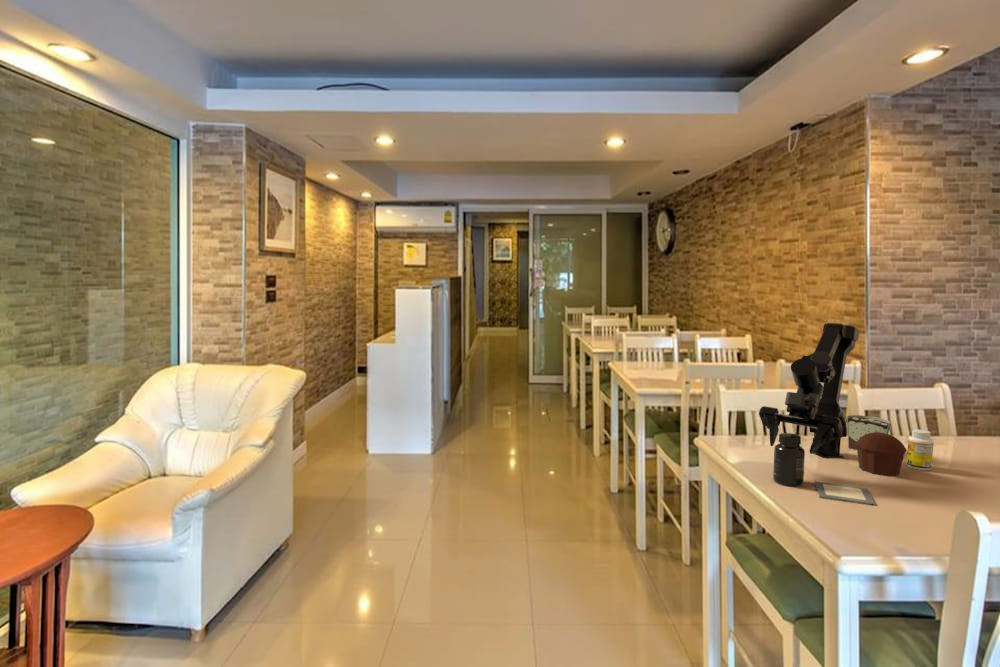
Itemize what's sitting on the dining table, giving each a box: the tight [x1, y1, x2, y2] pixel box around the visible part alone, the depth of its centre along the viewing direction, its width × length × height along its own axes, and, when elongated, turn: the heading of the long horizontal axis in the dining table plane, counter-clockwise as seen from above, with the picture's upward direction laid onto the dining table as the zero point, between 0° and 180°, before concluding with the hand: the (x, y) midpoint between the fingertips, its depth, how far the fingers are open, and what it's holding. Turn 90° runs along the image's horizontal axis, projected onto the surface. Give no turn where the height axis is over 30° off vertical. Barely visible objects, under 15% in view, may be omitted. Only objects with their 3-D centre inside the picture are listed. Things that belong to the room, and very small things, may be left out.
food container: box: [845, 414, 893, 451], centre depth 173 cm, size 12×6×10 cm, turn 34°
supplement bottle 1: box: [772, 432, 806, 487], centre depth 144 cm, size 7×7×12 cm
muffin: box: [856, 432, 908, 477], centre depth 154 cm, size 12×11×10 cm
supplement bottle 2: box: [906, 428, 935, 471], centre depth 157 cm, size 6×6×10 cm
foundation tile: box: [814, 481, 876, 506], centre depth 137 cm, size 11×11×1 cm
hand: (790, 449), depth 144 cm, fingers open, 9 cm apart
